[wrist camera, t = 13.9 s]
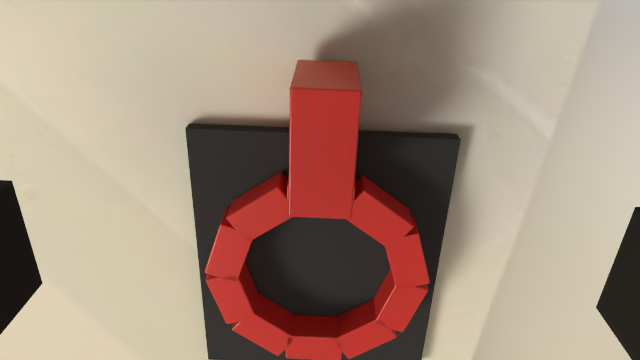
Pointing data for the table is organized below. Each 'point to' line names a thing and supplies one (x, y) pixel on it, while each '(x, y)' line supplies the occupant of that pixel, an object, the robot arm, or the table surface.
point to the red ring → (319, 202)
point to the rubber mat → (318, 229)
